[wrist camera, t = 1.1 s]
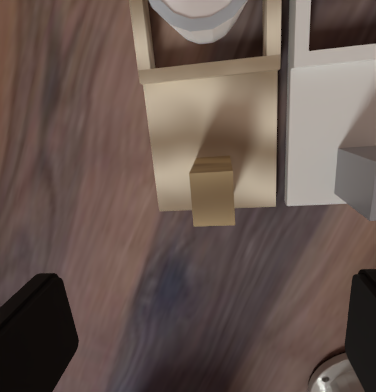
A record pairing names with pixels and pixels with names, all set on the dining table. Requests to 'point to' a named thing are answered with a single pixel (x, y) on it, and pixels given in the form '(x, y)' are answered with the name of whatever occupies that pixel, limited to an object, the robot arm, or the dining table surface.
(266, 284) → the dining table surface
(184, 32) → the white round container
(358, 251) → the dining table surface
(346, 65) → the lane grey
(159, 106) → the beige frame tray
